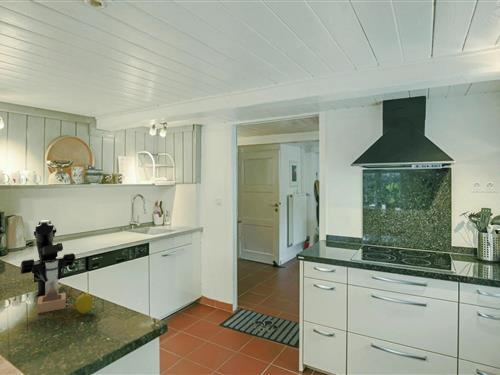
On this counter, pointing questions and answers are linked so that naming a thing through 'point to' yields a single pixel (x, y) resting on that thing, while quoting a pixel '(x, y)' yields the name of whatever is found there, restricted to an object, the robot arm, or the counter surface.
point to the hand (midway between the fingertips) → (52, 280)
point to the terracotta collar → (51, 303)
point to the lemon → (84, 303)
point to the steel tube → (51, 279)
